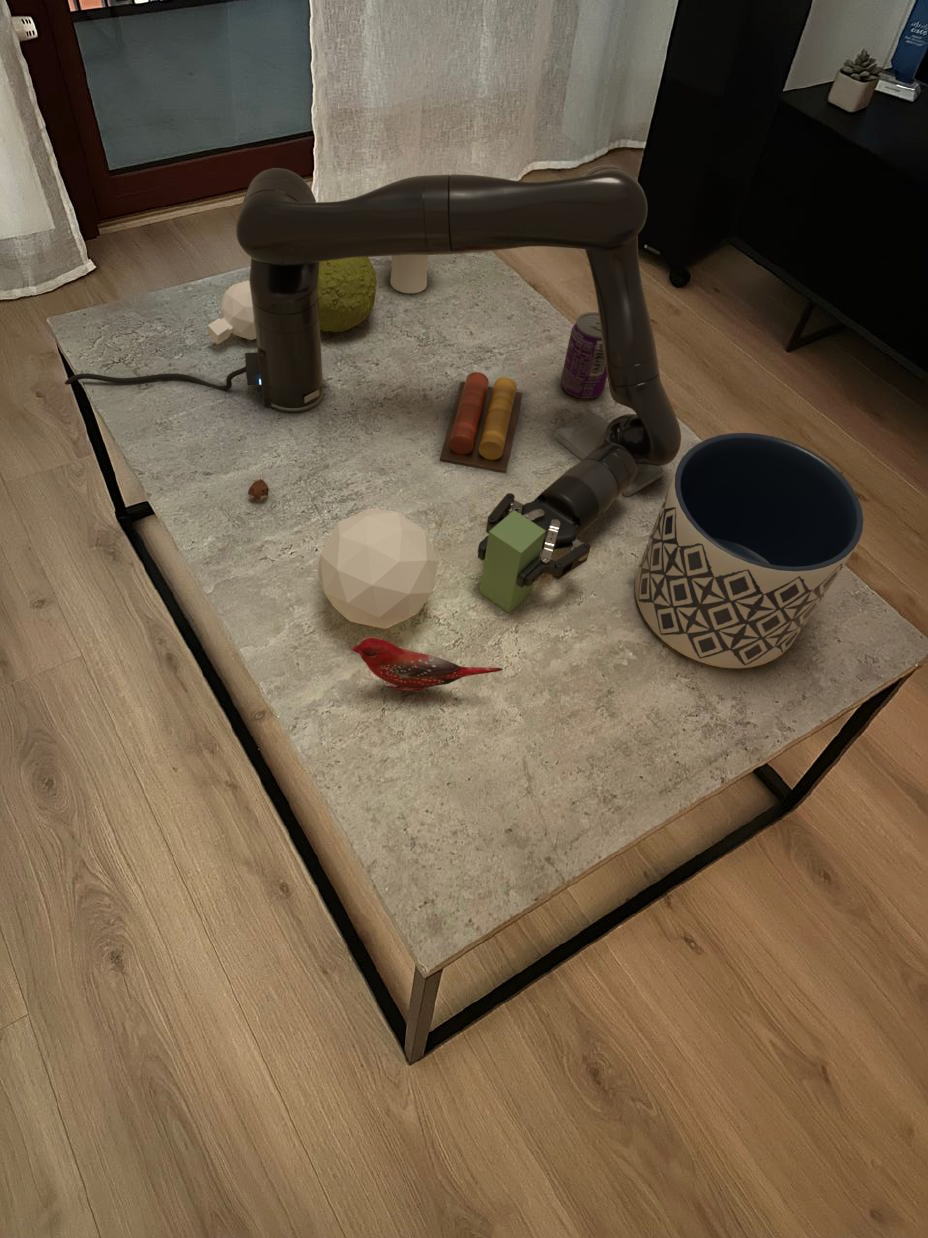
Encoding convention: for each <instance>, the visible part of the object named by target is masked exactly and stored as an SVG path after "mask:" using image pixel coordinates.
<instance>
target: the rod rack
mask: <svg viewBox="0 0 928 1238" xmlns="http://www.w3.org/2000/svg"><path fill="white" fill-rule="evenodd" d="M517 389H518V388H517V384H516V382H515V381H514V380H513V379H512V378H510V377H507V376H501V377H499V378H497V379H496V380H495V381H494V382H493V386H490V381H489V378H488V376H487V375H485V374H484V373H482V372H479V371H474V372H471V373H469V374H468V375H467V376H466V379H465V382H464V381H460V383H459V387H458V391H457V394H456V397H455V401H454V404H453V409H452V412H451V415H450V419H449V423H448V427H447V430H446V434H445V438H444V442H443V445H442V449H441V452H440V456H439V462H445V463H448V464H449V463H450V464H455V465H460V466H467V467H471V468H476V469H482V470H488V471H493V472H498V473H504V474H506V473H507V470H508V465H509V460H510V456H511V452H512V448H513V447H512V446H513V443H514V436H515V431H516V427H517V423H518V417H519V413H520V407H521V402H522V397H523V392H520V391H517Z"/></svg>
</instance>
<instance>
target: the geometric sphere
mask: <svg viewBox="0 0 928 1238" xmlns="http://www.w3.org/2000/svg"><path fill="white" fill-rule="evenodd" d="M318 558H319V560H318V572H317V573H318V574H317V576H318V579H319V582H320V585H321V587H322V591H323V593H324V595H325V597H327V599H328V600H329V602H330V604H331V605H332V607H334V608H335V609H336V610H337V611H338V612H339V613H340V614H341V615H342V616H343V617H344V618H345V619H346V620H347V621H349V622H351V623H355V624H359V625H364V626H369V627H373V628H374V627H375V628H378V629H383V630H387V629H389V628H391V627H393V626H395V625H397V624H399V623H401V622H403V621H405V620H408V619H410V618H413V617H414V616H416V615H418V614H419V612H420V610H421V609H422V608H423V607H424V605H425V604H426V602H427V601H428V599H429V598H430V597H431V596H432V594H433V592H434V587H435V581H436V578H437V577H436V576H437V571H438V566H439V559H438V556H437V554H436V552H435V550H434V547H433V545H432V543H431V541H430V539H429V536H428V534H427V532H426V530H425V529H423V528H422V527H420V526H419V525H417V524H416V523H414V522H413V521H411V519H409V518H407V517H406V516H404V515H403V514H401V513H400V512H398V511H394V510H387V509H380V508H373V507H371V508H368V509H366V510H362V511H361V512H359V513H356V514H353V515H351V516H349V517H346V518H344V519H342V520H339V521H337V523H336V525H335V526H334V528H333V530H332V532H331V534H330V535H329V537H328V539H327V541H326V543H325V544H324V545H323V547H322V549H321V552H320V553H319V557H318Z"/></svg>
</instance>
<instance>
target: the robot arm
mask: <svg viewBox="0 0 928 1238" xmlns="http://www.w3.org/2000/svg"><path fill="white" fill-rule="evenodd" d="M647 218H648V201H647V197H646V193H645V191H644V189H643V187H642V185H641V184H640V183H639V181H638V180H637V179H636V178H635V177H634V175H633V174H631V173H630V172H629V171H628V170H626V169H624V168H623V167H621V166H617V165H613V164H603V165H602V164H601V165H597V166H594V167H592V168H591V169H589V170H588V171H586V172H585V173H584V174H583V175H582V176H577V177H572V178H564V179H554V180H548V181H547V180H545V181H522V180H515V179H514V180H513V179H507V178H501V177H494V176H487V175H478V174H459V173H458V174H456V173H454V174H452V173H450V174H449V173H448V174H428V175H416V176H410V177H406V178H402V179H399V180H396V181H393V182H391V183H388V184H385V185H383V186H381V187H378V188H376V189H373V190H371V191H368V192H366V193H363V194H361V195H358V196H355V197H352V198H348V199H344V200H337V201H316V197H315V195H314V193H313V191H312V189H311V187H310V185H309V184H308V183H307V181H305V179H303V178H302V176H300V175H299V174H297V173H295V172H294V171H292V170H289V169H287V168H281V167H272V168H268V169H265V170H263V171H261V172H259V173H258V174H257V175H255V177H254V178H253V179H252V180H251V182H250V183H249V185H248V188H247V190H246V193H245V195H244V198H243V200H242V204H241V207H240V209H239V212H238V216H237V220H236V225H235V227H236V228H235V235H236V237H237V238H236V239H237V242H238V244H239V246H240V247H241V249H242V251H243V252H245V253H246V255H248V257H250V269H249V270H250V271H249V281H250V290H251V297H252V306H253V315H254V323H255V332H256V339H255V340H256V350H257V351H256V352H245V353H244V361H245V366H244V367H241V368H238V369H236V370H234V371H232V372H230V373H229V374H228V375H227V376H226V378H225V383H226V384H223V385H218V384H213V383H210V382H208V381H205V380H203V379H201V378H198V377H195V376H192V375H189V374H184V373H158V374H151V375H144V376H135V377H116V376H115V377H114V376H108V375H102V374H97V373H96V374H95V373H78V374H74V375H71V376H70V377H69V378H67V379H66V380H65V382H64V385H67V386H68V385H69V386H70V385H71V384H73V383H74V382H76V381H79V380H95V381H101V382H107V383H112V384H113V383H114V384H136V383H145V382H151V381H159V380H173V379H174V380H183V381H189V382H192V383H194V384H197V385H201V386H205V387H209V388H212V389H215V390H219V391H221V392H222V391H223V392H224V391H229V390H230V389H231V388H233V387H232V385H233V383H232V380H233V379H235V377H237V376H240V375H243V374H245V376H246V383H247V386H260V387H261V395H262V402H263V404H262V405H263V407H264V408H273V410H274V409H275V410H277V411H280V412H283V413H284V412H285V413H301V412H305V411H309V410H312V409H313V408H315V407H316V406H318V405H319V404H320V403H321V401H322V400H323V398H324V395H325V388H324V379H323V362H322V361H323V360H322V358H323V357H322V341H321V340H322V339H321V329H320V318H319V299H318V277H319V262H323V261H329V260H336V259H344V258H353V257H368V258H375V257H377V258H378V257H391V256H395V255H429V256H440V255H441V256H442V255H462V254H473V253H484V252H496V251H497V252H498V251H504V250H512V249H519V248H527V247H528V248H529V247H545V248H546V247H547V248H548V247H549V248H565V249H578V250H584V251H585V254H586V257H587V261H588V264H589V268H590V273H591V276H592V281H593V287H594V291H595V298H596V304H597V312H598V313H599V320H600V329H601V338H602V346H603V353H604V360H605V366H606V372H607V382H608V388H609V392H610V393H609V394H610V396H611V398H612V400H613V401H614V402H615V403H617V404H619V405H621V406H624V407H627V408H629V409H631V410H632V411H634V413H625V414H621V415H620V416H618V417H616V418H614V419H613V420H611V422H610V423H608V424H609V425H608V427H607V428H606V430H605V432H604V434H603V436H602V437H601V439H600V441H599V443H598V445H597V446H596V448H595V450H594V451H592V452H591V453H590V454H589V455H588V456H587V457H585V458H584V459H583V460H580V461H579V462H578V463H576V464H574V465H573V466H571V467H570V468H569V469H568V470H566V471H565V472H564V473H563V474H562V475H560V476H559V477H558V478H557V479H556V480H555V481H553V482H552V483H551V484H550V485H549V486H548V487H546V489H544V490H543V491H542V492H541V493H540V494H539V495H538V496H537V497H536V498H535V499H534V500H533V501H530V502H526V503H522V502H519V501H517V500H516V497H515V494H513V493H511V492H508V493H506V494H505V495H504V496H503V498H502V499H501V500H500V501H499V502H498V504H497V505H496V506H495V507H494V509H493V510H492V511H491V513H489V515H488V516H487V521H486V527H485V528H486V529H485V532H486V533H487V534H488V535H487V536H485V538H483V539H481V541H479V543H478V548H477V559H479V560H480V561H482V562H484V561H485V554H486V548H487V542H488V536H489V531H490V530H491V529H493V528H494V527H495V526H496V525H497V524H498V523H500V522H501V521H502V520H503V519H504V518H505V517H507V516H508V515H509V514H510V513H511V512H512V511H514V510H515V511H516V512H518V513H519V514H521V515H522V516H524V517H525V518H527V519H529V520H530V521H532V522H533V523H535V524H536V525H538V526H539V527H541V528H542V529H544V530H545V531H546V532H545V536H544V541H543V545H542V549H541V555H540V558H539V560H538V559H536V560H535V561H534V562H533V563H532V564H531V565H529V566H528V567H527V568H526V569H525V570H524V571H523V572H522V573H521V574H520V575H519V577H518V582H517V585H518V586H519V587H521V588H523V587H524V586H527V587H528V586H531V585H532V584H533V585H534V583H535V582H536V581H538V580H539V579H540V578H541V577H542V576H543V575H546V574H548V575H550V576H552V578H553V579H554V580H560V579H562V578H563V577H564V576H566V575H568V574H570V573H571V572H572V571H574V570H575V569H576V568H578V567H580V566H581V565H583V564H584V563H586V562H587V561H588V558H589V555H590V552H591V549H592V545H591V544H590V543H589V542H583V543H582V542H581V541H580V540H579V539H578V538H579V536H580V535H582V534H583V533H584V532H585V531H586V530H587V529H588V528H589V527H590V526H591V525H592V524H594V522H596V521H597V520H598V519H600V518H601V517H602V516H603V515H604V513H605V512H606V511H607V510H608V509H609V507H610V506H611V505H612V504H613V502H614V501H615V500H616V499H618V497H620V495H622V492H623V491H624V490H625V489H627V488H628V487H629V486H630V484H631V483H632V482H633V481H634V479H635V477H636V474H637V464H644V465H654V466H662V467H663V466H667V465H669V464H670V463H672V462H673V461H674V460H675V458H676V457H677V456H678V454H679V451H680V449H681V443H682V433H681V427H680V423H679V420H678V418H677V416H676V413H675V411H674V409H673V406H672V404H671V401H670V400H669V398H668V395H667V391H666V390H665V388H664V386H663V384H662V381H661V375H660V374H661V373H660V368H659V361H658V353H657V347H656V341H655V335H654V331H653V326H652V322H651V317H650V313H649V309H648V305H647V301H646V296H645V292H644V288H643V281H642V277H641V269H640V259H639V246H638V245H639V240H638V239H639V237H638V235H639V234H640V233H641V231H642V230H643V228H644V226H645V223H646V221H647ZM563 549H570V550H569V551H568V552H567V553H566V554H564V555H562V556H561V557H559V558H558V559H557V560H555V559H552V557H553V553H554V551H555V550H563Z"/></svg>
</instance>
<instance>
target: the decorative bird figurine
mask: <svg viewBox="0 0 928 1238" xmlns="http://www.w3.org/2000/svg"><path fill="white" fill-rule="evenodd" d="M350 651H352V652H355V653H358V654H359V656H360V658H361V660H362V661H363V662H364V663H365V664H366V666H367V667H368V669H369V671H371V673H373V674H374V675H375V676H376V677H378V678H379V679H381V680H382V681H384V682H387V683H389V684H392V685H395V686H392V685H386V686H385V688H388V689H389V688H390V689H395V690H398V691H399V692H415V691H416V692H421V691H427V692H429V689H427V688H432V687H437V686H445V685H449V684H452V683H454V682H455V681H458V680H460V679H462V678H465V677H470V676H475V675H484V674H490V673H497V672H500V671H501V672H502V670H504V669H503V668H501V667H495V666H494V667H492V666H491V667H489V666H488V667H487V666H486V667H483V666H478V667H477V666H461V665H458V664H456V663H454V662H451V661H448V660H446V659H444V658H440V657H436V656H433V655H431V654H426V653H422V652H418V651H414V650H409V649H406V648H403V647H400V646H398V645H396V644H394V643H392V642H390V641H388V640H386V639H381V638H378V637H367V638H365V639H363V640H361V641H360V642H359V644H357V645H356V646H354V647H352V648H351V649H350Z"/></svg>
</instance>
